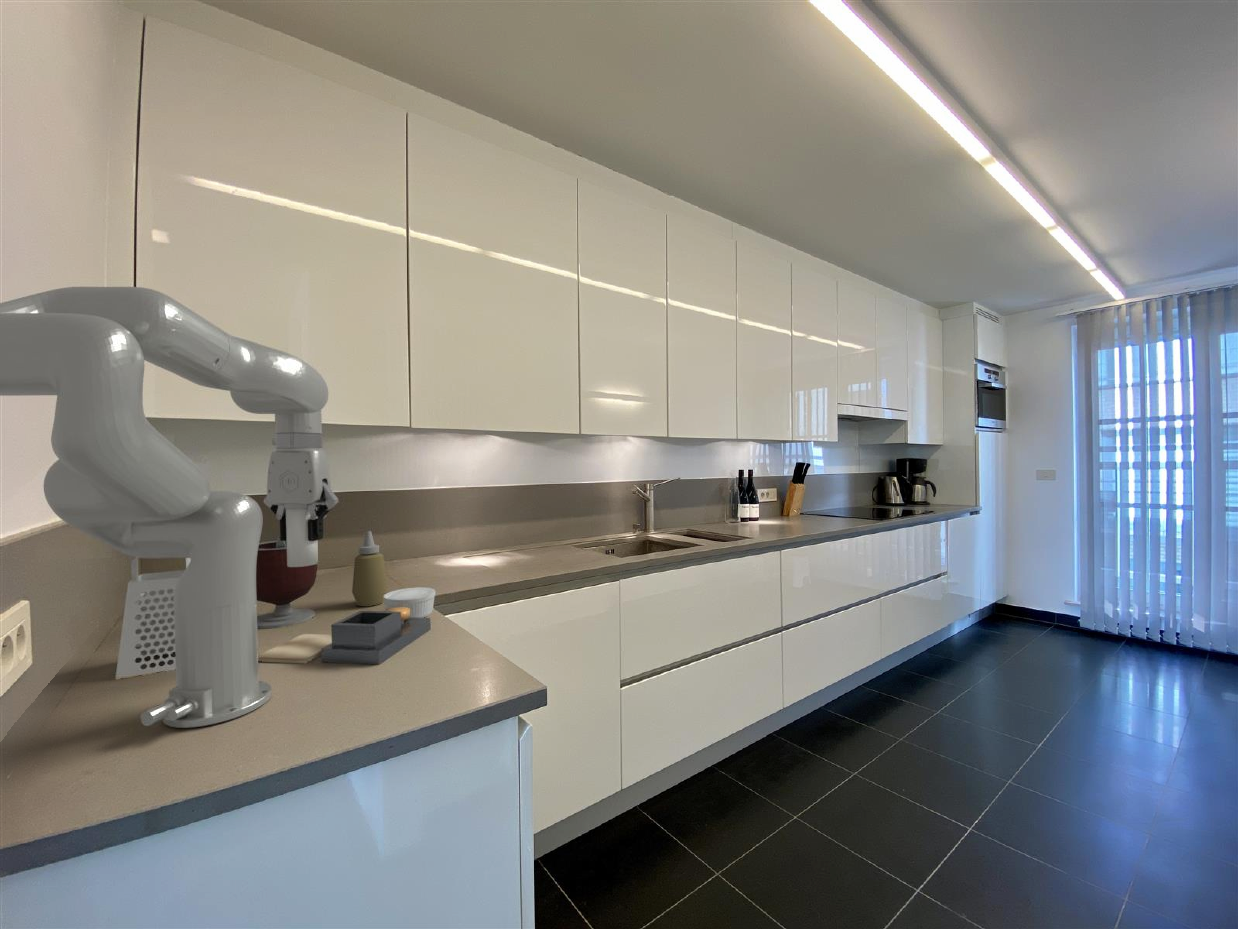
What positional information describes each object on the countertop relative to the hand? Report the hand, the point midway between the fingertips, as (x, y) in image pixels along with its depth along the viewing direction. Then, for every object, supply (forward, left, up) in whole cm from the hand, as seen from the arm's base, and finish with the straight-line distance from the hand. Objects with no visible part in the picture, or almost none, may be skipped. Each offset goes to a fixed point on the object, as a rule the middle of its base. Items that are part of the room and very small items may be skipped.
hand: (302, 538), depth 98 cm
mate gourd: (+16, +18, -21) cm, 32 cm away
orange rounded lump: (+10, -13, -21) cm, 26 cm away
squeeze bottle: (+30, +6, -21) cm, 37 cm away
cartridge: (0, 0, -5) cm, 5 cm away
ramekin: (+22, -9, -21) cm, 32 cm away
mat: (0, 0, -21) cm, 21 cm away
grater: (-8, +21, -21) cm, 31 cm away
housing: (+4, -13, -21) cm, 25 cm away
